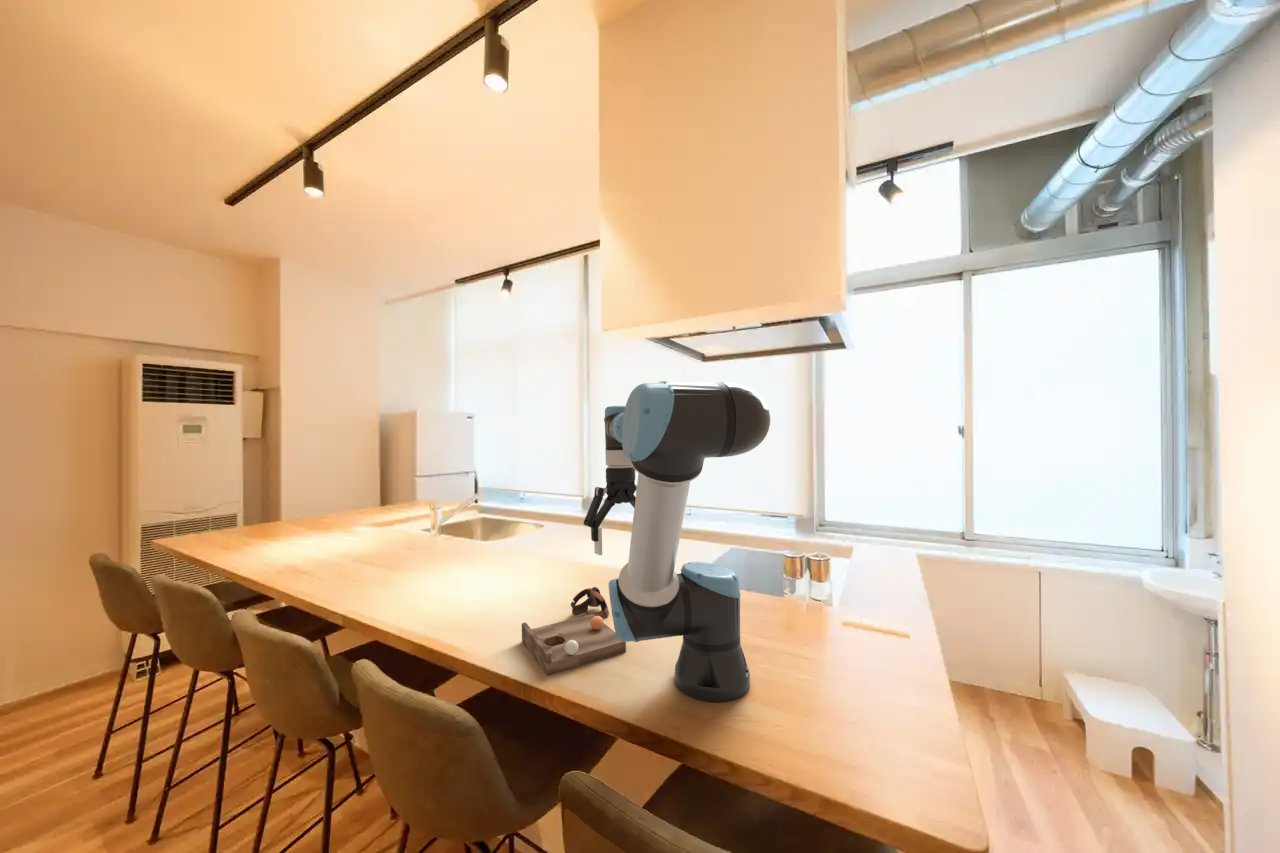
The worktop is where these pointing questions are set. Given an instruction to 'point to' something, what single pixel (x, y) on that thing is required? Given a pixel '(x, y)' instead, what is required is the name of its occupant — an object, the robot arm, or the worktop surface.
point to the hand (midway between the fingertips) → (622, 549)
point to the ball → (597, 622)
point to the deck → (552, 639)
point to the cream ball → (571, 647)
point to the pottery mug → (589, 601)
